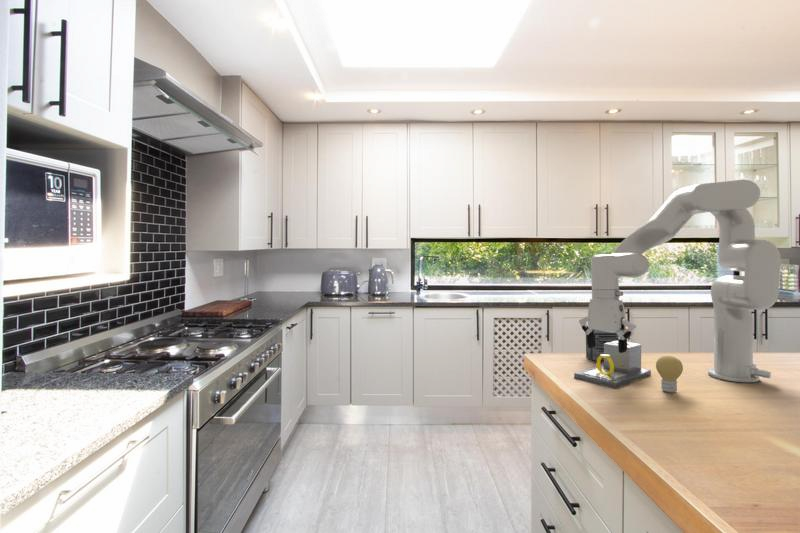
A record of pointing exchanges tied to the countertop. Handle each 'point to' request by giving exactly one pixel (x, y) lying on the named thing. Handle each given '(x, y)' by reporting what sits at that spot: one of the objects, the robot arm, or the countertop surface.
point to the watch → (609, 363)
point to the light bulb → (669, 372)
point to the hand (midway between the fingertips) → (606, 349)
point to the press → (617, 366)
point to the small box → (599, 344)
